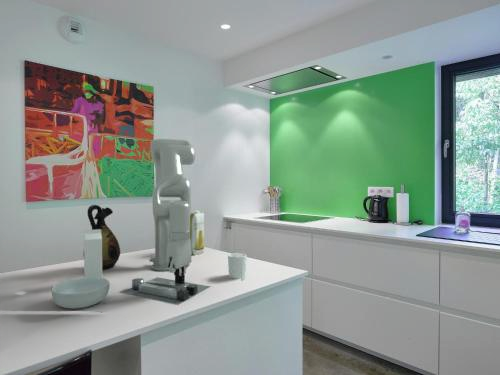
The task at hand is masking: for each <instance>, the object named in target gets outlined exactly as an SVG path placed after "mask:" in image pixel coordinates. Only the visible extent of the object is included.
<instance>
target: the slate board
mask: <svg viewBox="0 0 500 375" xmlns="http://www.w3.org/2000/svg"><path fill="white" fill-rule="evenodd" d="M151 280H153V281H161V282H170V283H175V279H169V278H164V277H155V278H152V279H151ZM145 282H146V281H144V283H145ZM185 284H187V285H197V293H196V294H195V295H190V294H189V298H188V299H187V300H189V299H192V298H193V297H195V296H196V295H198V294H200V293H202V292H204V291H206V290H208V289H209V288H210V287H211V286H209V285H204V284H199V283H194V282H186V281H185ZM119 294H125V295H128V296H132V297H136V298H137V297H139V298H143V299H148V300H153V301H157V302H163V303H167V304H171V305H177V306H178V305H180V304H182V303H184V302H186V301H187V300H185V301H181V300H177V299H174V298H169V297H164V296H159V295H154V294H149V293H144V292H139V290H134V289H132V287H130V288H127V289H125V290H122V291H120V292H119Z"/></svg>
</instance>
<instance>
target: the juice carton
mask: <svg viewBox="0 0 500 375" xmlns="http://www.w3.org/2000/svg"><path fill="white" fill-rule="evenodd" d="M204 221H205V214H204V212H200V210H195V211H194V212H191V215H190V242H191V253H192V256H196V255H201V254H204V253H205V252H204V250H205V248H204V247H205V229H204V228H205V222H204Z"/></svg>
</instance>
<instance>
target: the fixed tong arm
mask: <svg viewBox="0 0 500 375" xmlns="http://www.w3.org/2000/svg"><path fill="white" fill-rule="evenodd" d="M139 292H144V293H149V294H154V295H159V296H164V297H169V298H174V299H177V300H181V301H184V302H186V301H187V299H188V298H189V291H187V290H179V289H174V288H168V287H163V286H157V285H152V284H146V283H142V284H139ZM185 300H186V301H185ZM188 300H189V299H188Z"/></svg>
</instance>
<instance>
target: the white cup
mask: <svg viewBox="0 0 500 375" xmlns="http://www.w3.org/2000/svg"><path fill="white" fill-rule="evenodd" d="M247 257H248V256H247V254H246V253H242V252H233V253H229V254H227V263H228V264H227V265H228V266H227V267H228V276H229V279H230V278H231V279H234V280H235V279H236V280H237V279H239V280H240V281H244V280H245V279H246V272H247Z"/></svg>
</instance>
